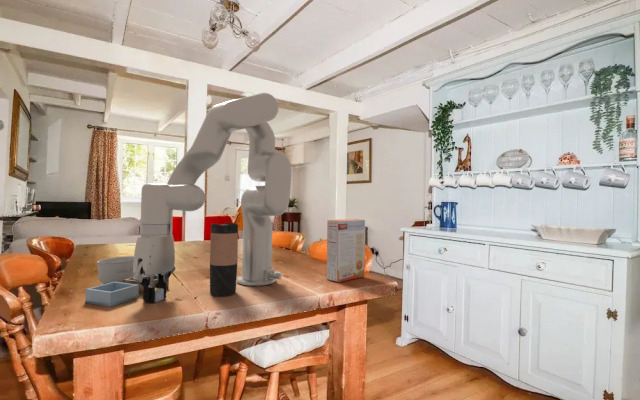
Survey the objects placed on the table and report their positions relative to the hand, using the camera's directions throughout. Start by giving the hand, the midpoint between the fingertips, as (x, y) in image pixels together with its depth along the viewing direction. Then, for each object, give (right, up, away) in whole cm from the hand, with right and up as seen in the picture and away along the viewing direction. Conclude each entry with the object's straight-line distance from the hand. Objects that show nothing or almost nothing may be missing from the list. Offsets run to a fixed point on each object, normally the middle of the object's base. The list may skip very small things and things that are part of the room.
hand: (154, 299), depth 90 cm
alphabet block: (0, -1, 0) cm, 1 cm away
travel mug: (+15, -1, +9) cm, 18 cm away
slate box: (-11, 0, -1) cm, 11 cm away
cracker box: (+52, -2, +31) cm, 61 cm away
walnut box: (-7, 0, +10) cm, 12 cm away
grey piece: (-19, 0, +17) cm, 25 cm away
